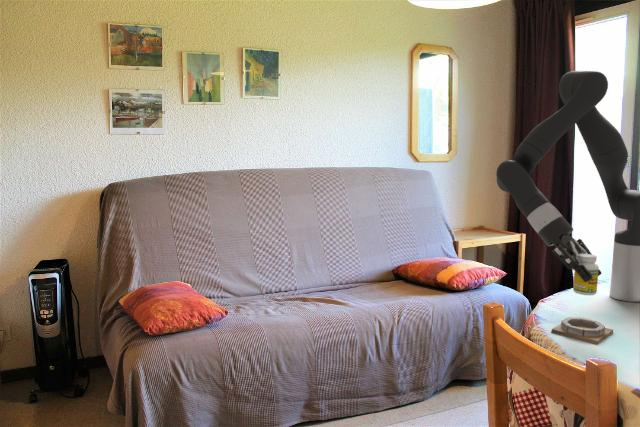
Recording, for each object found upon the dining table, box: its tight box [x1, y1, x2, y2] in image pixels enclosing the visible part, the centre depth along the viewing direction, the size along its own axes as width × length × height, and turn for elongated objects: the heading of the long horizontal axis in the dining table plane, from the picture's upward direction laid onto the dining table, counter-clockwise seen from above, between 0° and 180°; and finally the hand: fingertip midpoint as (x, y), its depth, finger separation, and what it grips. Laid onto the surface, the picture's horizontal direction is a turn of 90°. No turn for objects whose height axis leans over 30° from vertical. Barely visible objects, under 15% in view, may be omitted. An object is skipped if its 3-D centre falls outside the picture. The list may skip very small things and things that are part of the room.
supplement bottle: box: [572, 253, 600, 296], centre depth 136 cm, size 5×5×10 cm
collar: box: [551, 316, 614, 345], centre depth 138 cm, size 11×11×2 cm
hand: (593, 277), depth 135 cm, fingers closed on supplement bottle, 5 cm apart
